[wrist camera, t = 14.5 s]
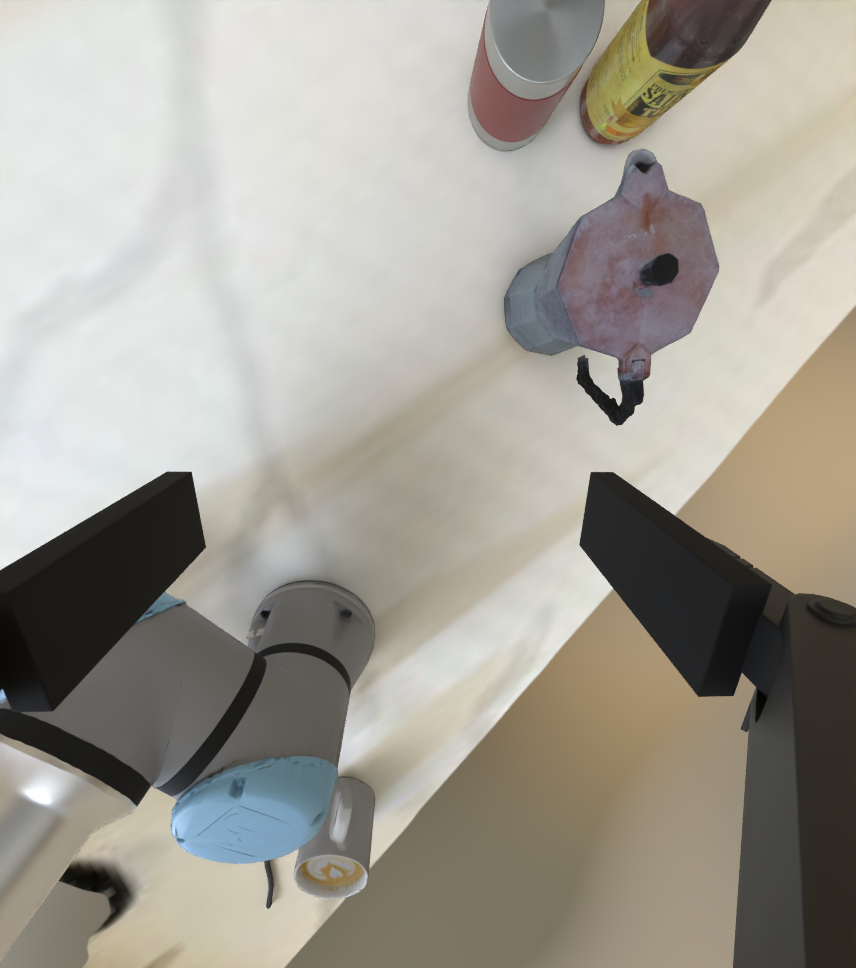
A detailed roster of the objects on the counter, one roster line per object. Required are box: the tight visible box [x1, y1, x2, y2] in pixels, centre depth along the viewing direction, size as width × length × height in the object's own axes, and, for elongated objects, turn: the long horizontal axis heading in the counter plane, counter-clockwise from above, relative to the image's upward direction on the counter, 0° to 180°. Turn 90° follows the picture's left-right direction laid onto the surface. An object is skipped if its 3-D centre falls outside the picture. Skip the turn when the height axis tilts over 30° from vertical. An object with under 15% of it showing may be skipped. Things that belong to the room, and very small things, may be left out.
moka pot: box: [504, 149, 719, 426], centre depth 31 cm, size 10×15×20 cm, turn 10°
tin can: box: [468, 0, 605, 151], centre depth 30 cm, size 7×7×11 cm
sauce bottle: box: [580, 0, 771, 145], centre depth 26 cm, size 6×6×20 cm
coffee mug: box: [294, 777, 375, 899], centre depth 60 cm, size 13×10×10 cm
